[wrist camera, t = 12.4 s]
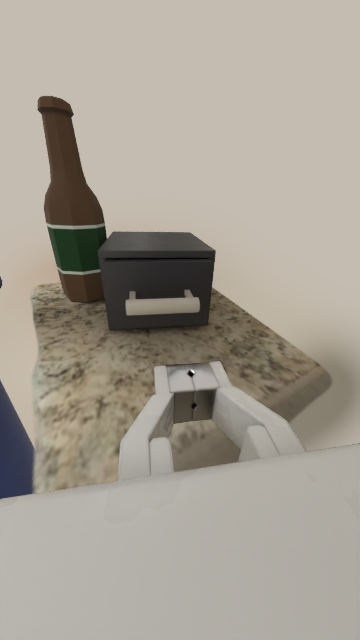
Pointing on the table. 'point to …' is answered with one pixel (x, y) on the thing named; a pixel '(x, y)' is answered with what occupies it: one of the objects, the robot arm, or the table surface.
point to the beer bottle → (71, 207)
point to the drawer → (157, 291)
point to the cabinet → (152, 254)
